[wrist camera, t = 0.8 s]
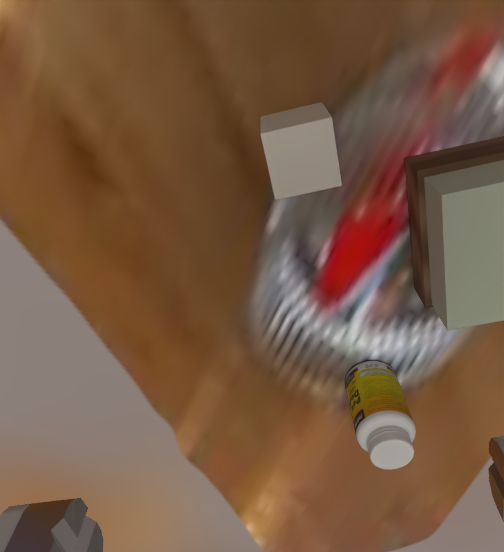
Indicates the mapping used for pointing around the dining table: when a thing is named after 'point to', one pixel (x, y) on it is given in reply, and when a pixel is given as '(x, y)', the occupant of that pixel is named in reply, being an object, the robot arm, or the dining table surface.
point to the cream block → (300, 150)
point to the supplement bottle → (380, 414)
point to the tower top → (466, 244)
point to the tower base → (415, 175)
